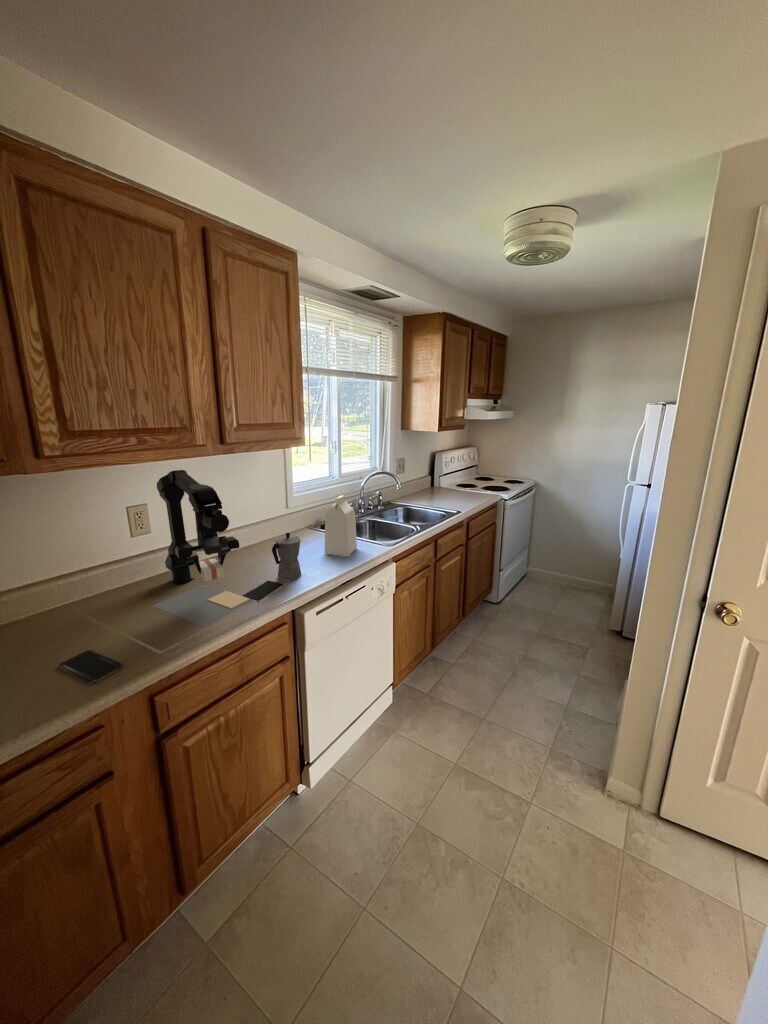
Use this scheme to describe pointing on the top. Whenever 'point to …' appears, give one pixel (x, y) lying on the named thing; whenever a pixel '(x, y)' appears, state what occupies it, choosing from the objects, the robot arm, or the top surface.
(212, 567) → the card box
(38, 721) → the top surface
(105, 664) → the phone
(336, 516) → the milk
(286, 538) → the coffeepot
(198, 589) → the mat
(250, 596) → the smartphone
